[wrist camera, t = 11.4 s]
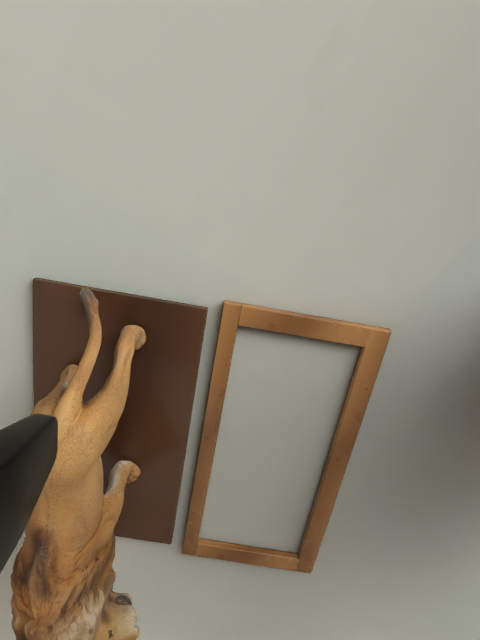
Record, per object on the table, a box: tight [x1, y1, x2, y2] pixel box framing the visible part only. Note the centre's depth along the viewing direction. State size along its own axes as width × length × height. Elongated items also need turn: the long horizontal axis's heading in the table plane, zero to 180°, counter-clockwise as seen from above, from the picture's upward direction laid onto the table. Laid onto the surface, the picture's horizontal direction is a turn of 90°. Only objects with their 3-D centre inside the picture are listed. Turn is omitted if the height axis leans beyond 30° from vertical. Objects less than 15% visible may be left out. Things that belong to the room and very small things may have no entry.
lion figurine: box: [11, 288, 146, 640], centre depth 18 cm, size 15×5×9 cm, turn 1°
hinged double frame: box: [33, 278, 391, 573], centre depth 23 cm, size 16×16×1 cm
